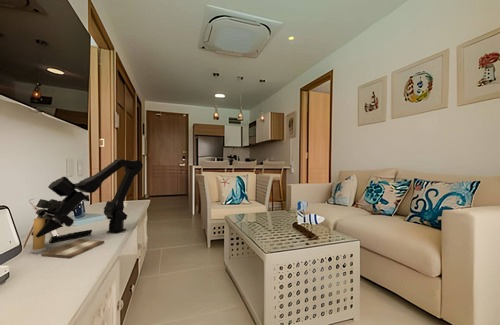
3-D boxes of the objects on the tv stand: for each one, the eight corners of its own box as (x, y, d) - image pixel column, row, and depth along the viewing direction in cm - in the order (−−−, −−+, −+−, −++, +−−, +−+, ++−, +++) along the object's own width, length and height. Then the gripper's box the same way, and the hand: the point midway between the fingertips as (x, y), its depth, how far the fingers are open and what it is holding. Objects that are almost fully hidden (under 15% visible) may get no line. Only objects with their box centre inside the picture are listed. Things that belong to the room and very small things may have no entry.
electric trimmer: (92, 236, 104) (93, 230, 105) (49, 244, 93) (50, 237, 93) (90, 234, 107) (91, 228, 107) (48, 242, 95) (48, 235, 95)
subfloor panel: (80, 241, 96) (80, 238, 96) (104, 243, 95) (104, 240, 95) (41, 256, 81) (41, 253, 81) (69, 258, 79) (69, 255, 79)
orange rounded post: (39, 249, 86) (40, 217, 87) (48, 250, 86) (49, 217, 86) (28, 253, 82) (29, 219, 83) (37, 254, 82) (38, 220, 82)
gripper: (42, 189, 92) (3, 221, 82) (65, 193, 84) (25, 228, 74) (64, 205, 99) (30, 236, 89) (87, 209, 91) (53, 244, 81)
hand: (34, 236), depth 83 cm, fingers closed on orange rounded post, 3 cm apart
